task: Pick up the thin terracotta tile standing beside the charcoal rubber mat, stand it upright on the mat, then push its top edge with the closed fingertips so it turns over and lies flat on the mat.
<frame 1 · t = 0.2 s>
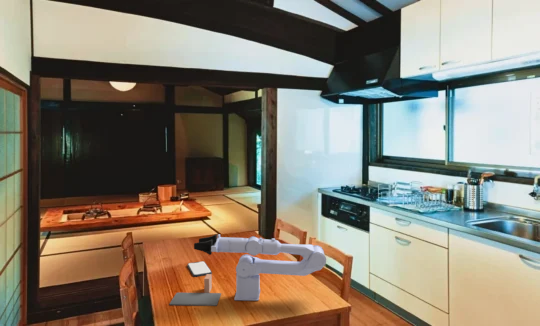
hand: (196, 243, 143), 21 cm above the table, tool horizontal, fingers open, 7 cm apart
tile: (208, 290, 149), on the table
mat: (196, 299, 141), on the table
phone case: (199, 271, 173), on the table
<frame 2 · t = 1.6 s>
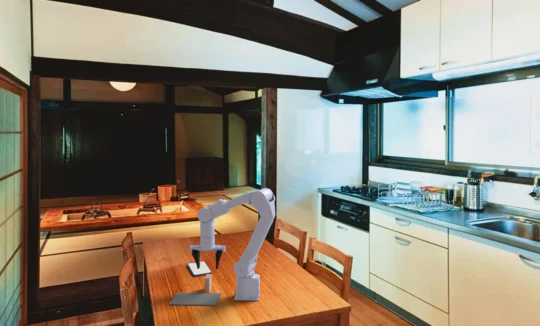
hand: (207, 268, 149), 9 cm above the table, tool pointing down, fingers open, 7 cm apart
nothing on the table moved.
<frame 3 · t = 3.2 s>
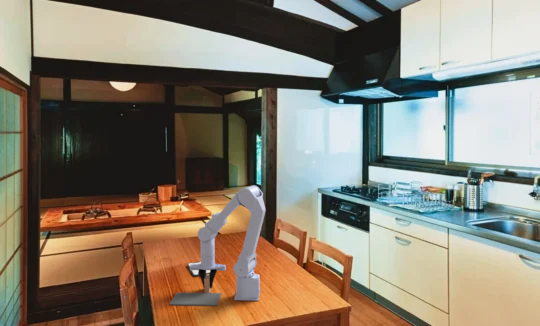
hand: (208, 287, 149), 1 cm above the table, tool pointing down, fingers closed on tile, 2 cm apart
tile: (208, 290, 149), on the table, touching gripper
everything else where it was.
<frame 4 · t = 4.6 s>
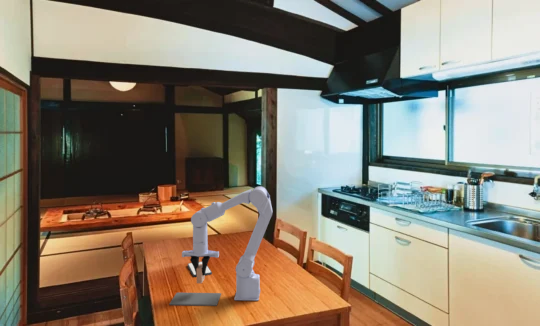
hand: (200, 274, 145), 8 cm above the table, tool pointing down, fingers closed on tile
tile: (200, 280, 145), point 6 cm above the table, touching gripper
everything else where it was.
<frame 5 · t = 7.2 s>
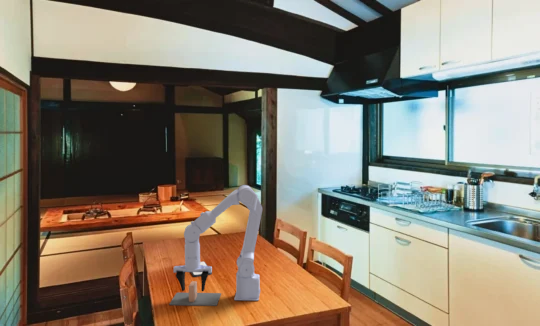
hand: (193, 290, 140), 4 cm above the table, tool pointing down, fingers open, 7 cm apart
tile: (193, 298, 141), resting on mat
everything else where it was.
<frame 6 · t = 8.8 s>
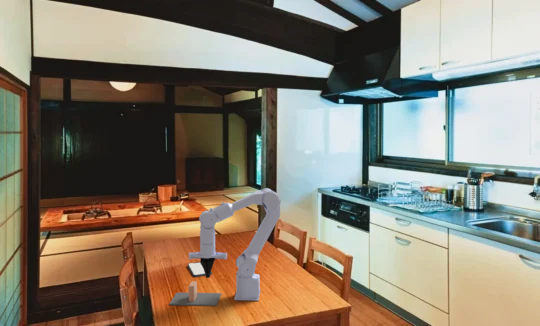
hand: (208, 276, 140), 9 cm above the table, tool pointing down, fingers closed
nothing on the table moved.
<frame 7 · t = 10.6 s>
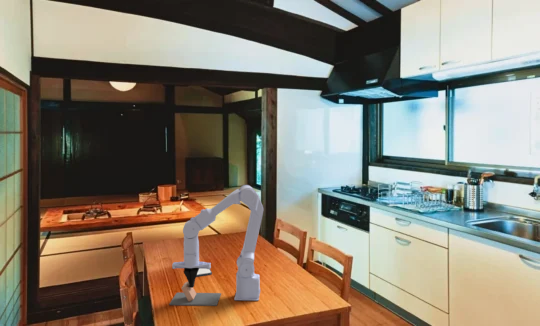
hand: (191, 286, 140), 5 cm above the table, tool pointing down, fingers closed
tile: (192, 297, 141), point 1 cm above the table, tilted 28°, touching mat
everything else where it was.
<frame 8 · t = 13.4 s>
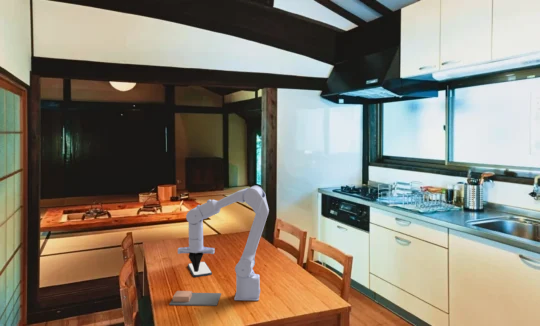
hand: (196, 270, 146), 9 cm above the table, tool pointing down, fingers closed
tile: (190, 296, 140), point 1 cm above the table, tilted 90°, touching mat
everything else where it was.
at the end: tile tilted 90°; tile inside the target area (0.9 cm from its centre), point 1.5 cm above the table; tile touching mat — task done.
